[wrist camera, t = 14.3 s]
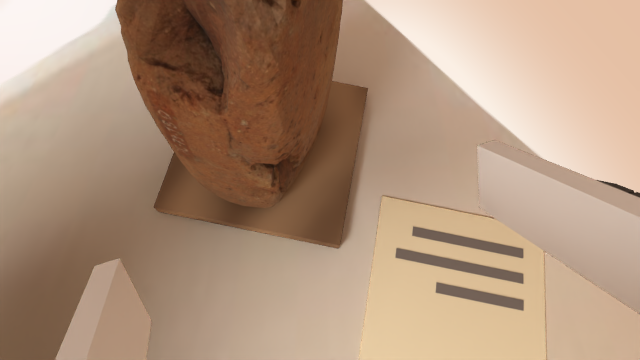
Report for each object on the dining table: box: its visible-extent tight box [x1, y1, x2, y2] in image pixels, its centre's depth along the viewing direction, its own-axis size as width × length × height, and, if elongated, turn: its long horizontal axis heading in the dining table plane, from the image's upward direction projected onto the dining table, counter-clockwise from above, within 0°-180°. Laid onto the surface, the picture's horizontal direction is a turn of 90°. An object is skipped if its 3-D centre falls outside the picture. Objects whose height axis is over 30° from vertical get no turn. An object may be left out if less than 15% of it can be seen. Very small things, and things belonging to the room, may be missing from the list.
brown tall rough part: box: [115, 0, 343, 208], centre depth 20 cm, size 11×8×20 cm
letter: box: [359, 196, 546, 360], centre depth 26 cm, size 12×16×1 cm
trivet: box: [154, 81, 368, 249], centre depth 30 cm, size 13×13×1 cm
